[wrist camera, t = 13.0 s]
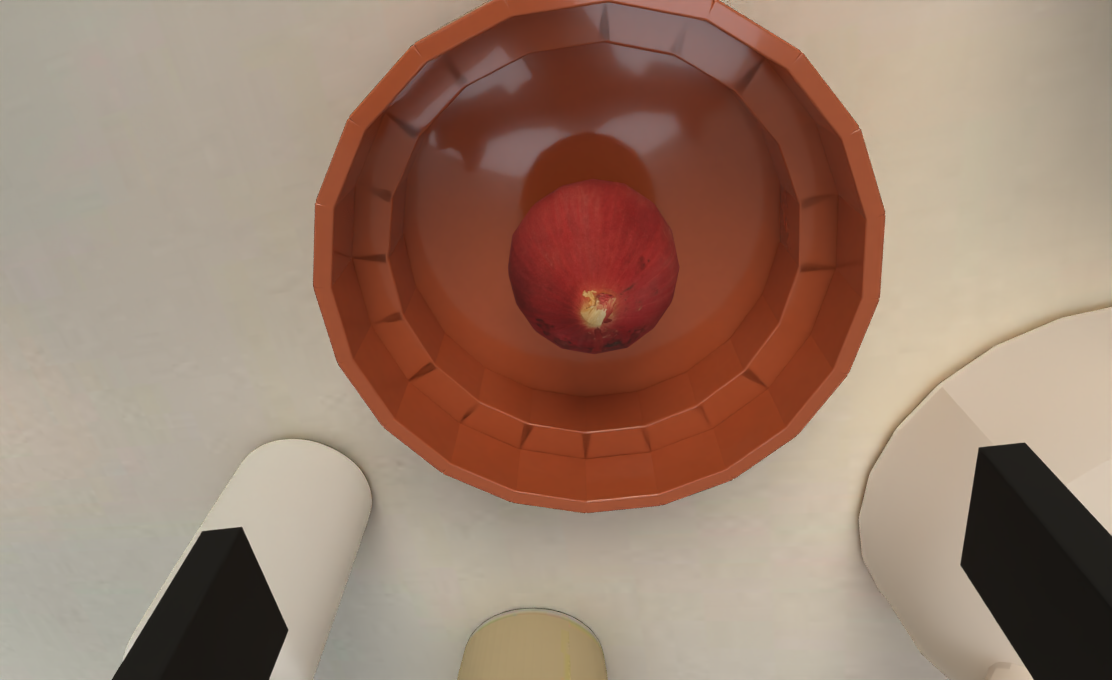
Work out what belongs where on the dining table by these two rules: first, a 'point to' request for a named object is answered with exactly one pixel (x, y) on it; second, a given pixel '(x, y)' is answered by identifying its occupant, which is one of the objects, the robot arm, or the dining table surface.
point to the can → (294, 538)
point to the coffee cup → (533, 648)
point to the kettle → (948, 472)
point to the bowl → (619, 156)
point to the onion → (593, 266)
